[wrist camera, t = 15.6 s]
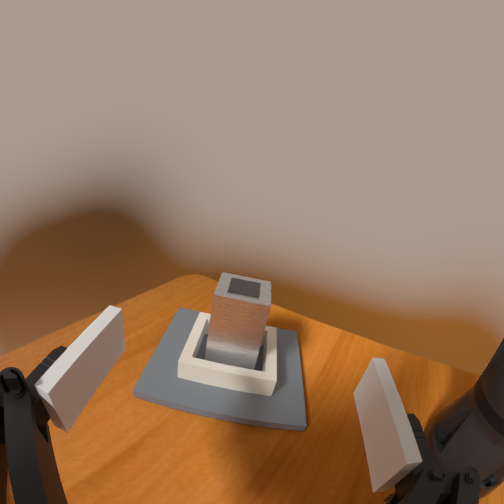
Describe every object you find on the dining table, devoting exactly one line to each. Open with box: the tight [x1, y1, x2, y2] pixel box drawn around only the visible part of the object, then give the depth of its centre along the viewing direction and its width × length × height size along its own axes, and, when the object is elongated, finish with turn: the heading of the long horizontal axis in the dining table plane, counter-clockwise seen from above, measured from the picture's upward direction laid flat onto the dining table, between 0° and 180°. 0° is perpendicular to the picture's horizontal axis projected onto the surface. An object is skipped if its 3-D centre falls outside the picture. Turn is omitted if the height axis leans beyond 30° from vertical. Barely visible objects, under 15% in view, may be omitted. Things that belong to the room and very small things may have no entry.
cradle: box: [133, 307, 307, 431], centre depth 33 cm, size 18×18×4 cm
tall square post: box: [205, 272, 271, 370], centre depth 31 cm, size 6×6×10 cm
